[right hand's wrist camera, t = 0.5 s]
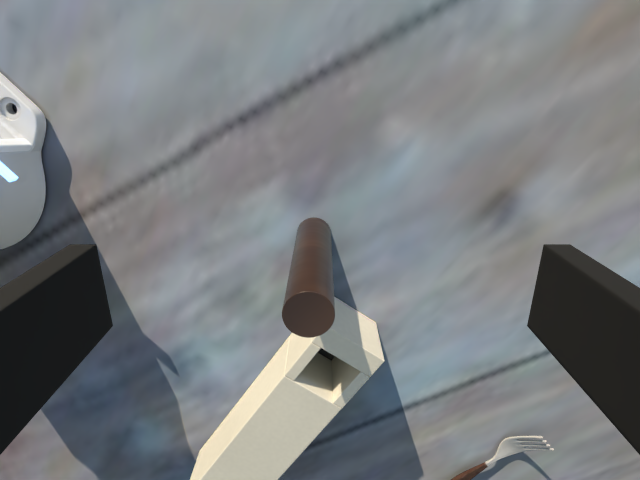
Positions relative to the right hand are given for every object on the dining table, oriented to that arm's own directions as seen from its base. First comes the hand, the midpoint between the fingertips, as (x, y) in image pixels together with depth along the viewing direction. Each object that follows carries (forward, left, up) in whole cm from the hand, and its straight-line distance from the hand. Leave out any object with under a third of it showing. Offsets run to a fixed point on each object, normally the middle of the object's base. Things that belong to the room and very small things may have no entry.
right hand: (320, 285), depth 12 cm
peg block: (-10, +22, -23) cm, 33 cm away
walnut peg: (-3, +6, -23) cm, 24 cm away
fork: (-33, +18, -23) cm, 44 cm away
